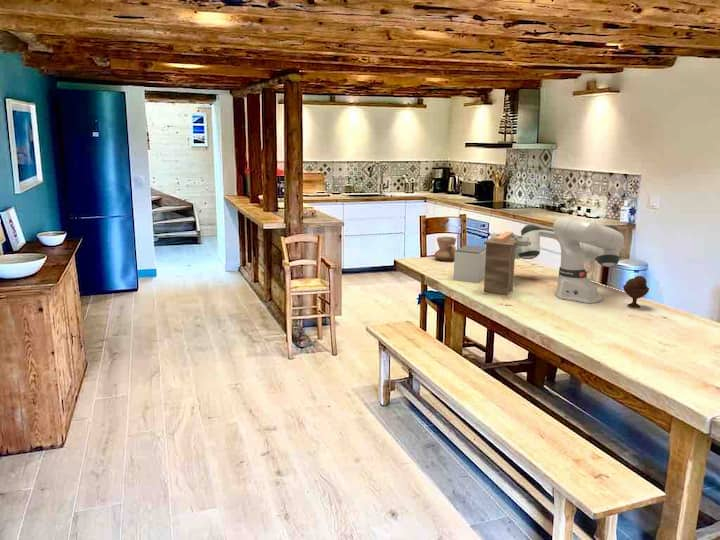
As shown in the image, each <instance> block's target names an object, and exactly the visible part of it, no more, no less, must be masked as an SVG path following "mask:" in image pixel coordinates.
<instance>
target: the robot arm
mask: <svg viewBox="0 0 720 540" xmlns="http://www.w3.org/2000/svg"><path fill="white" fill-rule="evenodd" d="M552 226H553V227H552V229H551V228H546V227H541V226H537V225H535V224H527V225H525V226H523V228H521V230H520V235H519V234H516V233H514V232H513V233H512V235H511V237H512V238H510V239H509V240H518V243H516V248H515V260H520V259H523V260H532V259H535V258H537V257H538V256H539V255H540V254H541V244H540V243H541V241H540V240H541V239H540V238H541V237H542V238H548V239H553V240H555V241H557V242H558V243H559V246H560V266H559V268H558V282H557V286H556V290H555V292H554V295H555V296H556V297H558V298H557V299H561V300H567V301H573V302H579V303H585V304H594V303H595V304H596V303H598V302H601V301H602V300H603V296H601V295H599V291H598V286H597V285H596V284H595V283H594V282H593V281H592V280H591V279H590V278H589V277H587V275H588V274H589V272H590V271H589V270H587V271H586V269H585V262H586V261H585V260H594V261H595V262H597V263H598V264H599V265H600V266H602V267H614V266H616V265H617V264H618V263H619V262H620V248H621V247H622V246H623V245H624V243H625V238H624V234H622V232H620V231H619V228H618V227H617V226H615V225H612V224H607V225H602V224H598V223H596V222H593V221H590V220H589V219H588V220H587V219H582V218H578V217H577V218H576V217H573V216H572V217H571V216H561V217H558V218H557V219H555V221H554V223H553V225H552ZM502 233H504V232H501V233H495V232H493V233H491V234H490V238H495V237H497V236H499V235H500V234H502Z"/></svg>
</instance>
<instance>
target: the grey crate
mask: <svg viewBox="0 0 720 540" xmlns="http://www.w3.org/2000/svg"><path fill="white" fill-rule="evenodd" d="M485 260H486V246H479V245H467V244H465V245H463V246H461V247H459V248H457V249H456V251H455V257H454V260H453V278H452V279H453V280H455V281H463V282H470V283H479V282H481V281H482V280H484V278H485Z"/></svg>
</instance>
